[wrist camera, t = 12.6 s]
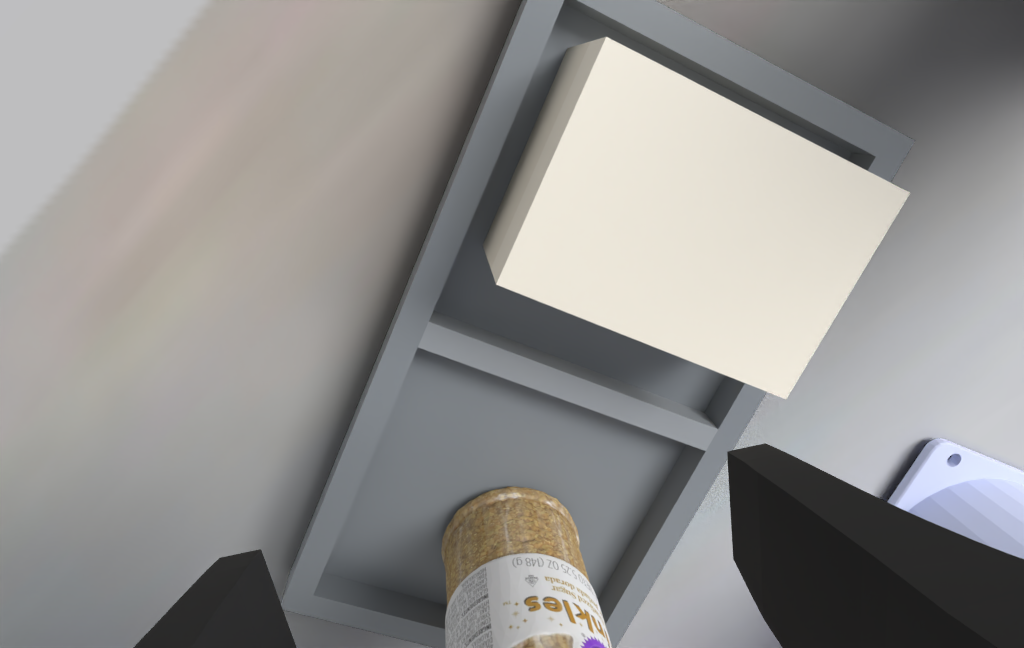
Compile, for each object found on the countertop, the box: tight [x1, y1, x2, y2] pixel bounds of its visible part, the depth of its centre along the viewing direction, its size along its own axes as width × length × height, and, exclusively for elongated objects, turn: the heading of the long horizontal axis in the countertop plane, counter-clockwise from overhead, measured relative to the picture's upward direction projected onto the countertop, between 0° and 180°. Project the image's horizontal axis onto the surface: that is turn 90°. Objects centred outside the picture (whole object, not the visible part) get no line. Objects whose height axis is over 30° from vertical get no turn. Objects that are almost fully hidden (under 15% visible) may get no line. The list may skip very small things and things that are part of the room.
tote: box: [281, 0, 915, 648], centre depth 20 cm, size 11×20×2 cm, turn 156°
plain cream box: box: [483, 37, 910, 399], centre depth 17 cm, size 8×6×4 cm
